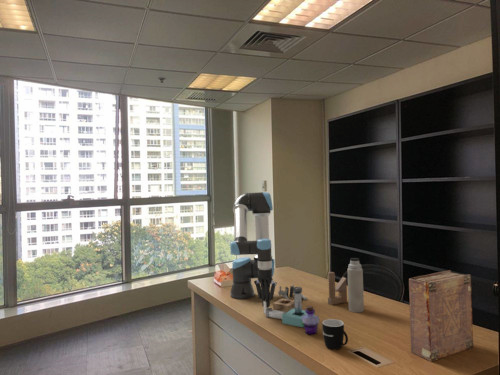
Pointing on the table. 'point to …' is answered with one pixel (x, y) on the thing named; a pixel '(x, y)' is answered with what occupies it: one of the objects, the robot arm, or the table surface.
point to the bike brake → (285, 293)
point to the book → (440, 314)
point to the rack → (283, 305)
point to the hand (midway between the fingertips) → (266, 312)
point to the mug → (334, 333)
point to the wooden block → (337, 290)
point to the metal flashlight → (297, 300)
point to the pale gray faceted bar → (274, 313)
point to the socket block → (293, 318)
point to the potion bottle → (310, 321)
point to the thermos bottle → (355, 286)
